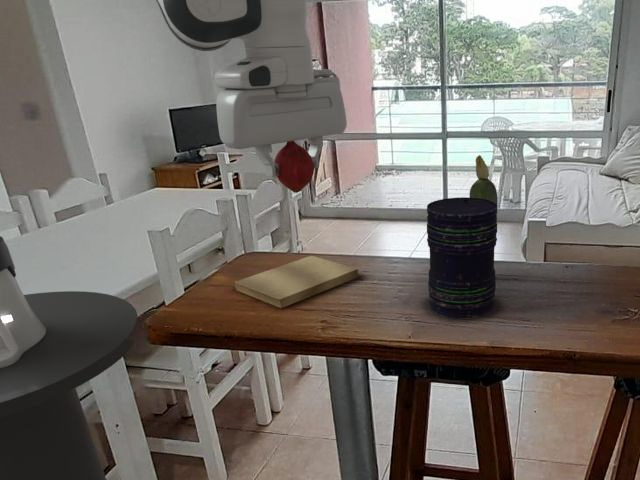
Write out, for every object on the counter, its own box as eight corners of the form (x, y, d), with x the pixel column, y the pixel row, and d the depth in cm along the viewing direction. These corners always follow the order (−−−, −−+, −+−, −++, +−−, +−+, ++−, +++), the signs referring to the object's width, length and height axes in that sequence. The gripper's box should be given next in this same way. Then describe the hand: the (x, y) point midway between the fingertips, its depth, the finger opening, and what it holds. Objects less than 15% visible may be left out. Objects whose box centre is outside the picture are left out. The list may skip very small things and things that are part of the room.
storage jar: (490, 322, 79) (492, 216, 73) (421, 316, 81) (418, 213, 75) (499, 294, 88) (502, 198, 82) (436, 290, 90) (434, 196, 84)
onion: (324, 192, 86) (318, 136, 83) (291, 199, 82) (284, 141, 79) (302, 186, 90) (296, 133, 86) (270, 193, 86) (262, 138, 83)
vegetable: (485, 271, 97) (487, 150, 89) (501, 278, 94) (505, 154, 85) (463, 276, 95) (464, 153, 87) (479, 284, 92) (481, 157, 83)
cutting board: (281, 308, 86) (279, 299, 85) (236, 290, 93) (234, 281, 92) (358, 277, 97) (357, 268, 96) (312, 263, 104) (311, 255, 103)
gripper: (323, 68, 88) (331, 160, 94) (203, 74, 74) (221, 181, 80) (351, 68, 84) (358, 163, 90) (230, 74, 70) (247, 187, 76)
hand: (293, 172), depth 85 cm, fingers closed on onion, 6 cm apart
